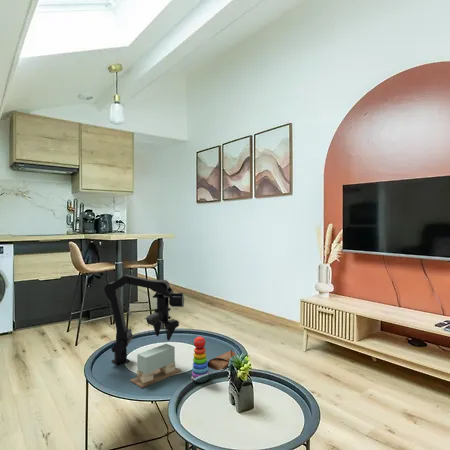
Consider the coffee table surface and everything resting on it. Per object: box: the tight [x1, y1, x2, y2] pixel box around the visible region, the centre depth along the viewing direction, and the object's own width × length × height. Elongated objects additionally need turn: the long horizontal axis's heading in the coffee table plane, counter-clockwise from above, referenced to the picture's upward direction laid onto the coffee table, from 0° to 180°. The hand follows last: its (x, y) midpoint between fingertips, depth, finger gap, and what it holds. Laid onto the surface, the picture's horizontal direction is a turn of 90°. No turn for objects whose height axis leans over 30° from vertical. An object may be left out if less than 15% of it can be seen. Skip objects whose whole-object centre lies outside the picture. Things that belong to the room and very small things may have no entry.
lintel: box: [136, 343, 176, 374], centre depth 148 cm, size 6×16×7 cm, turn 140°
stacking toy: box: [191, 336, 210, 380], centre depth 144 cm, size 8×8×19 cm
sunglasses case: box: [207, 349, 237, 371], centre depth 161 cm, size 18×7×7 cm
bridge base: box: [129, 361, 182, 389], centre depth 148 cm, size 9×21×5 cm, turn 137°
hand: (162, 338), depth 162 cm, fingers open, 9 cm apart
